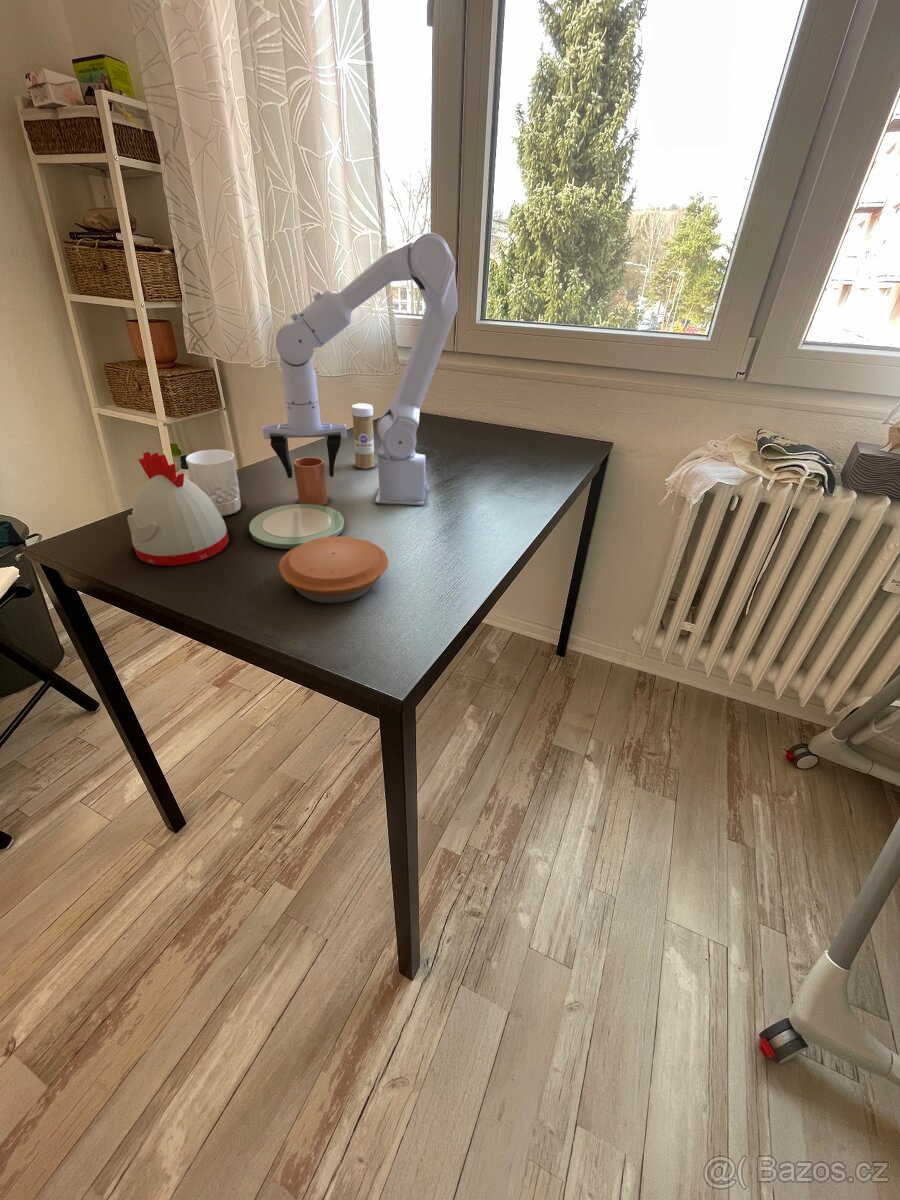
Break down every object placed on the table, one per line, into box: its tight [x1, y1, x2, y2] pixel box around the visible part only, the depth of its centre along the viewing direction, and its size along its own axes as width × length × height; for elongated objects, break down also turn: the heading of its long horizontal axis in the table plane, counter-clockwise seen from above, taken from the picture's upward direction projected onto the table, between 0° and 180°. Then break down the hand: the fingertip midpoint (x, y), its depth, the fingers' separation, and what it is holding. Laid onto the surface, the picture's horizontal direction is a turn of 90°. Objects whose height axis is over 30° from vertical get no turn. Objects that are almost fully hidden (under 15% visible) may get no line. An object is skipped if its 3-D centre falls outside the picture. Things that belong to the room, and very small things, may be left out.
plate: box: [248, 503, 345, 550], centre depth 89 cm, size 16×16×1 cm
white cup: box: [185, 449, 242, 517], centre depth 92 cm, size 8×8×10 cm
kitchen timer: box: [126, 451, 230, 566], centre depth 79 cm, size 14×14×15 cm
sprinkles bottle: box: [350, 402, 376, 470], centre depth 113 cm, size 5×5×14 cm
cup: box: [293, 456, 329, 506], centre depth 97 cm, size 5×5×8 cm
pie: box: [278, 535, 389, 604], centre depth 74 cm, size 16×16×5 cm
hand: (311, 475), depth 97 cm, fingers open, 7 cm apart
